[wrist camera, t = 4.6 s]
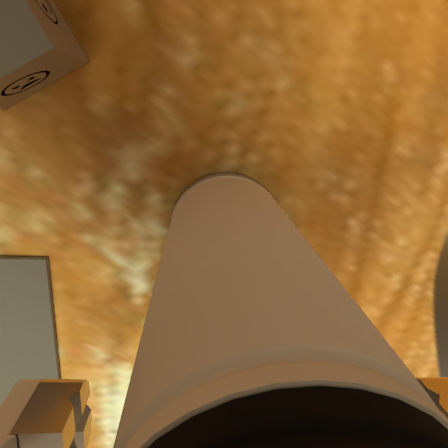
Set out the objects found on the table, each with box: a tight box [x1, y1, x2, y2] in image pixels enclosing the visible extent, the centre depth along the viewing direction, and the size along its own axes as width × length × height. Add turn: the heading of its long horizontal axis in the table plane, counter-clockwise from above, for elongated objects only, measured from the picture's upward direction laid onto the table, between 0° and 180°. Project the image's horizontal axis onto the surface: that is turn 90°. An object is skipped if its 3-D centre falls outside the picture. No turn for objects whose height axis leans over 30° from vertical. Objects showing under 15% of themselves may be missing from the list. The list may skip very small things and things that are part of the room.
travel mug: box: [113, 172, 448, 448], centre depth 12 cm, size 6×7×20 cm
